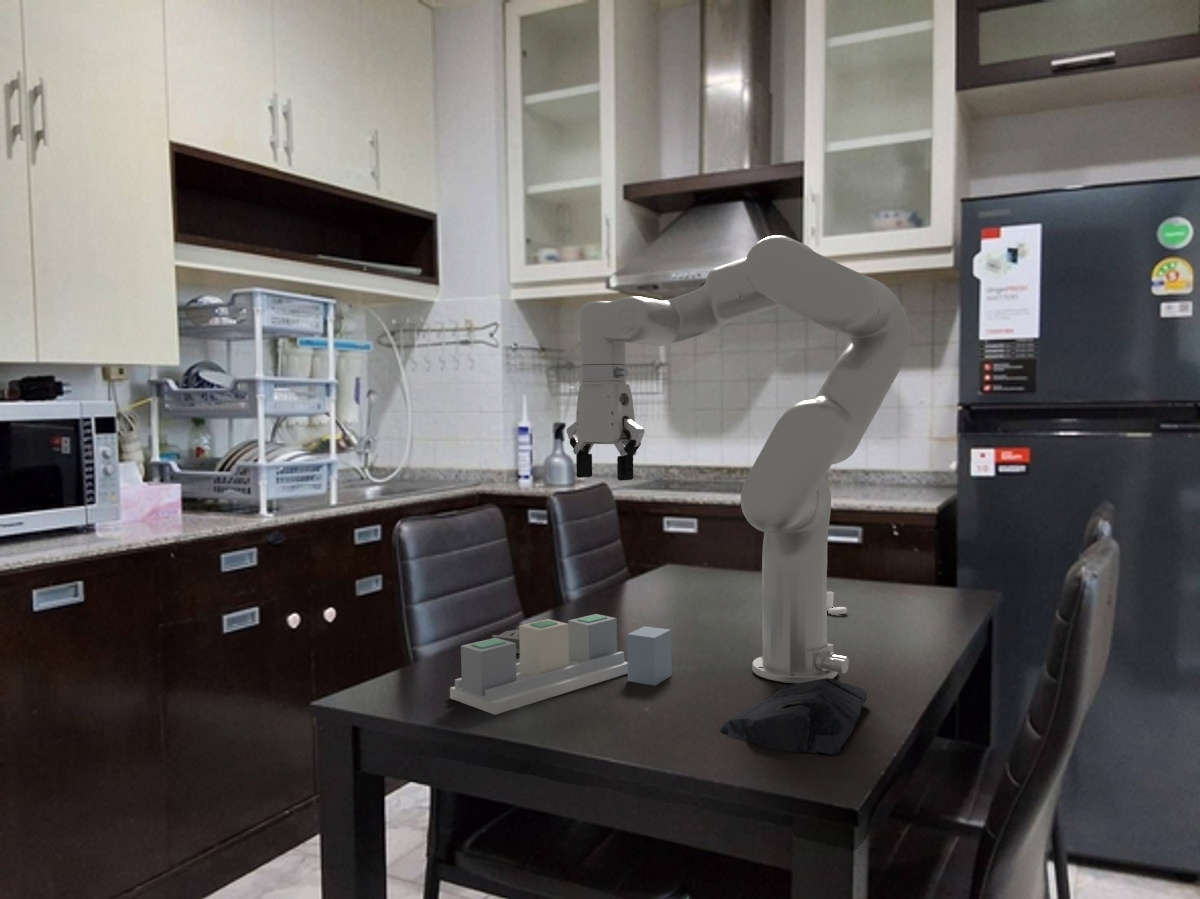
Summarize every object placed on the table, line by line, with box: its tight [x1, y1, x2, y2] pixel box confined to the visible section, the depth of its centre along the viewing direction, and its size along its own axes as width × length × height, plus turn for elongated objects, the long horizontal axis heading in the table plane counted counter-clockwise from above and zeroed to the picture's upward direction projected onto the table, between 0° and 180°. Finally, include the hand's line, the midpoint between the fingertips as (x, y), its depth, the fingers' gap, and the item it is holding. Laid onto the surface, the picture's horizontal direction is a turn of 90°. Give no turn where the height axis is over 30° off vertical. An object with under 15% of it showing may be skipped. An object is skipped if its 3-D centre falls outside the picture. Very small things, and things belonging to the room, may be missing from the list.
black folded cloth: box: [719, 678, 868, 756], centre depth 117 cm, size 15×22×5 cm
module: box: [626, 626, 673, 686], centre depth 135 cm, size 4×6×7 cm
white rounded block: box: [827, 590, 848, 616], centre depth 178 cm, size 9×8×4 cm
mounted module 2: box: [567, 613, 618, 663], centre depth 140 cm, size 4×6×6 cm
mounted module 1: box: [460, 637, 517, 696], centre depth 126 cm, size 4×6×6 cm
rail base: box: [449, 651, 628, 716], centre depth 133 cm, size 10×26×3 cm, turn 135°
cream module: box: [518, 618, 569, 677], centre depth 132 cm, size 4×6×7 cm
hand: (604, 478), depth 153 cm, fingers open, 9 cm apart
